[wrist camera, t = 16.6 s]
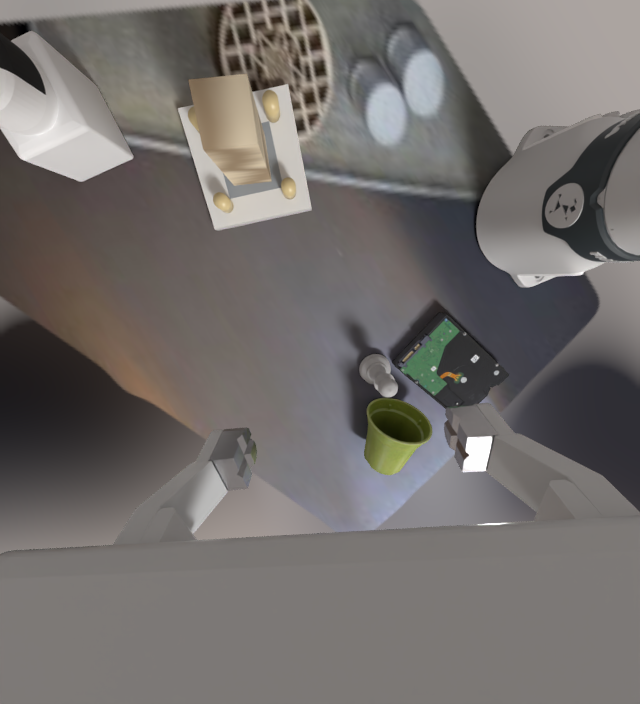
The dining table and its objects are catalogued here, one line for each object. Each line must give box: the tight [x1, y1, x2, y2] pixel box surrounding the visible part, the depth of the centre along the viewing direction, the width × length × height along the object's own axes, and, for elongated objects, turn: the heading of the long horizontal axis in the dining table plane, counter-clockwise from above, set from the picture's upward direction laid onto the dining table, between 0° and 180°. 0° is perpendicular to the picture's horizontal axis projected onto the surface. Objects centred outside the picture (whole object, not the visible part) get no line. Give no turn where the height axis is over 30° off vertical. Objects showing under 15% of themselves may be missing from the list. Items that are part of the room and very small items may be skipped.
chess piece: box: [359, 354, 398, 397], centre depth 36 cm, size 5×5×8 cm
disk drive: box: [392, 313, 509, 409], centre depth 40 cm, size 10×3×15 cm
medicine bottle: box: [0, 31, 133, 182], centre depth 23 cm, size 7×7×12 cm
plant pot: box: [364, 398, 432, 475], centre depth 40 cm, size 9×9×9 cm
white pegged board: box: [178, 84, 312, 231], centre depth 29 cm, size 12×12×4 cm
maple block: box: [188, 74, 272, 186], centre depth 25 cm, size 4×4×10 cm
